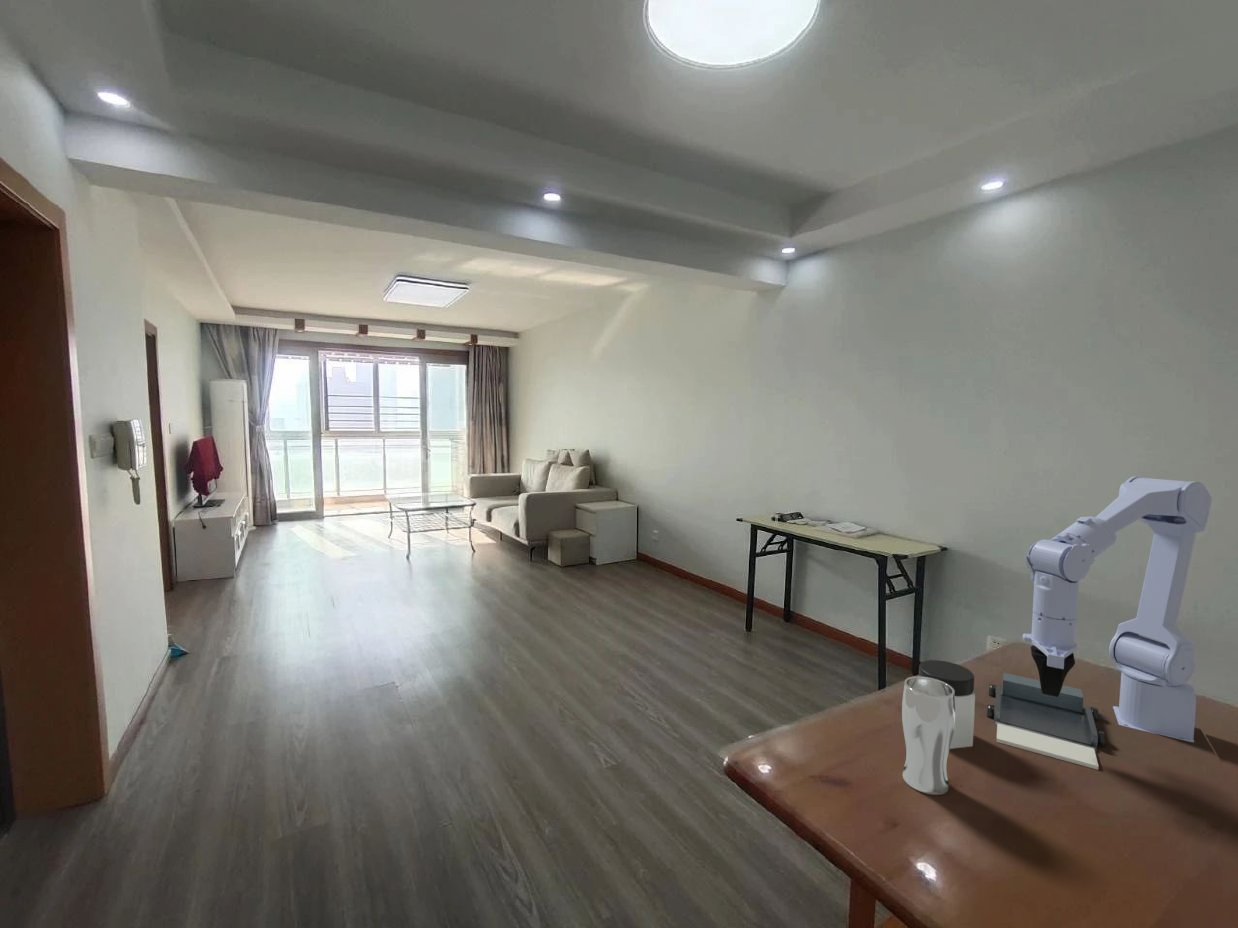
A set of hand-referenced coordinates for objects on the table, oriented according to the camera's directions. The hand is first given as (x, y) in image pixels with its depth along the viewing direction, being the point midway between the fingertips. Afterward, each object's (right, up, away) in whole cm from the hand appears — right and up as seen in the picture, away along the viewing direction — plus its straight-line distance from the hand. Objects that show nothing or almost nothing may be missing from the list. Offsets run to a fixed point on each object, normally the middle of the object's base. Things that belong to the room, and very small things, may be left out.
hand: (1050, 693), depth 92 cm
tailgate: (+1, -8, +2) cm, 9 cm away
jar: (-16, -9, +3) cm, 18 cm away
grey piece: (+6, -8, +9) cm, 14 cm away
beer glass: (-25, -10, -8) cm, 28 cm away
